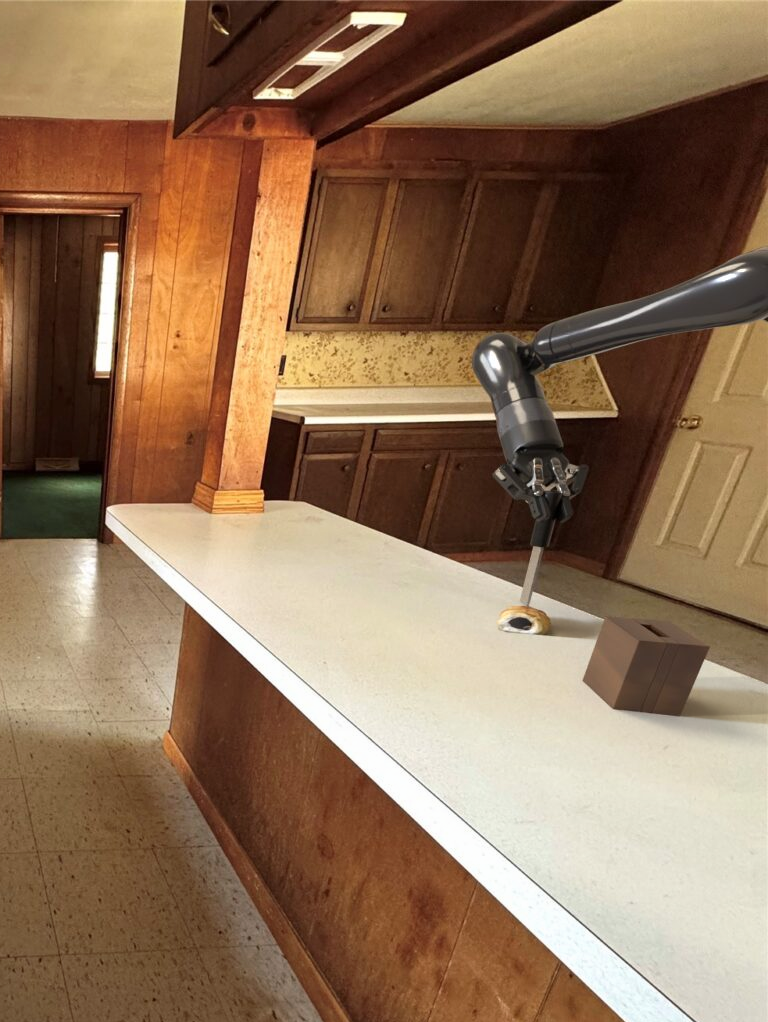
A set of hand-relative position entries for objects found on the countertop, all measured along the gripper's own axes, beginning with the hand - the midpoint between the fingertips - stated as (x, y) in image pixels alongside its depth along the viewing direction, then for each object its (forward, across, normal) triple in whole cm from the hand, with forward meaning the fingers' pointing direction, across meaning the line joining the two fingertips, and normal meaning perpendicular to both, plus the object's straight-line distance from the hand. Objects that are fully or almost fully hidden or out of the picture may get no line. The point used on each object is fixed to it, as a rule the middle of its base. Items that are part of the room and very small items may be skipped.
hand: (554, 519), depth 106 cm
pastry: (+14, 0, +13) cm, 19 cm away
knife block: (+32, -2, -4) cm, 32 cm away
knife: (+10, 0, +11) cm, 15 cm away
